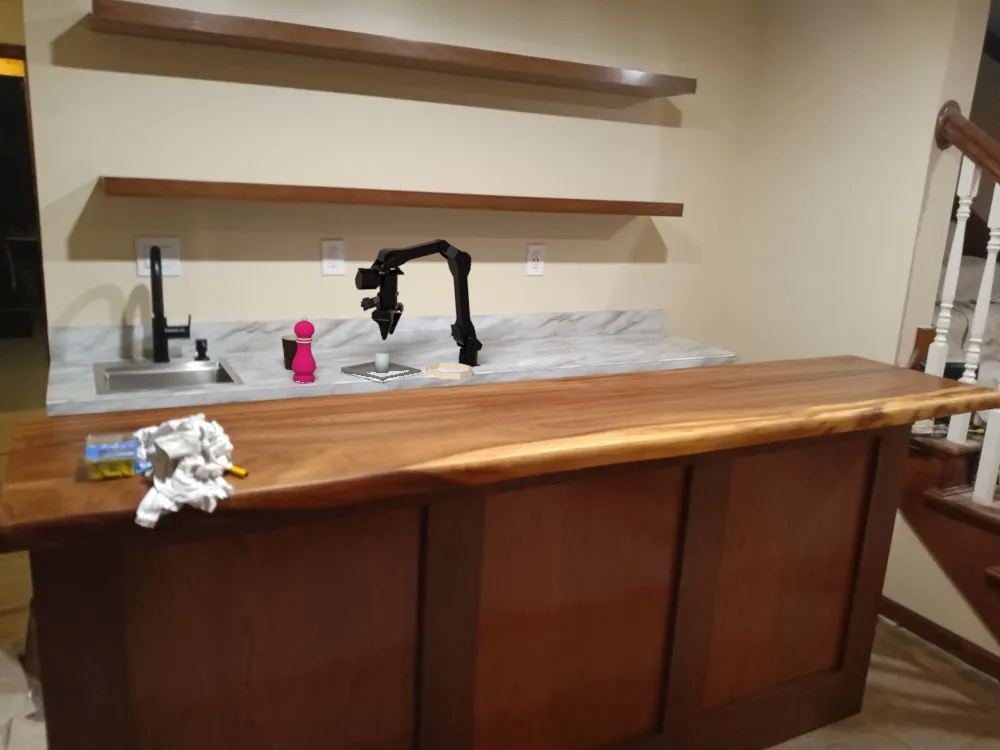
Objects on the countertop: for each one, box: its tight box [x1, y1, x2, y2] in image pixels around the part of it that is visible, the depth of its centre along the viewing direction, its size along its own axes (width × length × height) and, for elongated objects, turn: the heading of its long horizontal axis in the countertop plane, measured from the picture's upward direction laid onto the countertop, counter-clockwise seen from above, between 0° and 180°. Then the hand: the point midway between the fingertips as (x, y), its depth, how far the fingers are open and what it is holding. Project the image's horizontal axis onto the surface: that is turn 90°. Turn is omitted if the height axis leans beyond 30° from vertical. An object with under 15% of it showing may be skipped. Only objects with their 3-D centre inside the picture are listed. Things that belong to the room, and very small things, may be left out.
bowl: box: [425, 361, 474, 380], centre depth 259 cm, size 15×15×2 cm
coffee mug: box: [281, 334, 297, 371], centre depth 255 cm, size 12×9×10 cm
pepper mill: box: [291, 315, 317, 383], centre depth 238 cm, size 7×7×20 cm
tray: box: [340, 360, 422, 381], centre depth 255 cm, size 18×18×2 cm
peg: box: [374, 351, 390, 373], centre depth 254 cm, size 4×4×6 cm
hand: (387, 337), depth 255 cm, fingers open, 9 cm apart
